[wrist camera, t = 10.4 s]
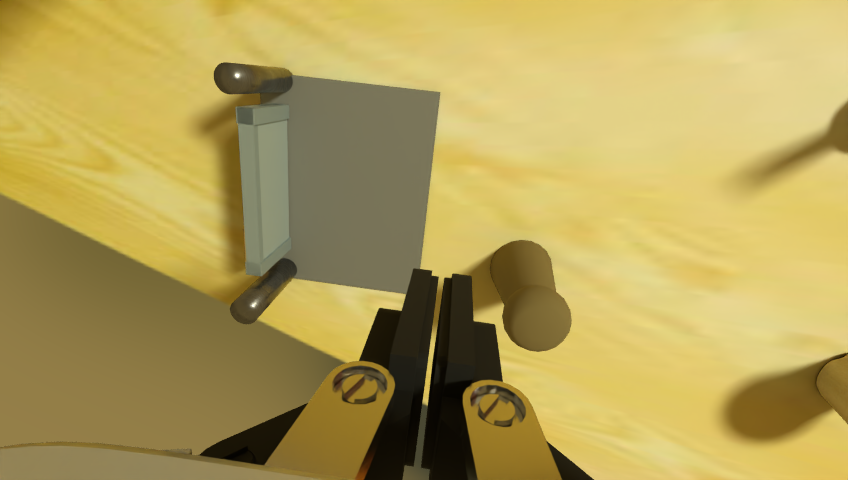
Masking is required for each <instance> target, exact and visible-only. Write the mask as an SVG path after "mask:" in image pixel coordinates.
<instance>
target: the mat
mask: <svg viewBox="0 0 848 480" xmlns="http://www.w3.org/2000/svg"><path fill="white" fill-rule="evenodd" d="M291 76H292V79H293V85H292V87H291V89H290V90H289V91H287V92H277V93H260V95H261V104H270V103H277V104H285V105H289V119H287V141H288V197H289V237H291V249H290V250H289V251H288V252H287V253H286V254H285V255H284V256H283V257H282V258H287V259H290V260H292V261H293V262H294V263H295V265H296V267H297V273H296V275H295V276H294V278H296V279H304V280H311V281H318V282H325V283H332V284H339V285H346V286H354V287H361V288H368V289H375V290H382V291H389V292H396V293H404V294H407V290H408V286H409V283H410V279H411V275H412V271H413V268H416V269H420V264H421V256H422V247H423V238H424V229H425V221H426V212H427V203H428V194H429V186H430V177H431V168H432V160H433V151H434V142H435V133H436V125H437V116H438V107H439V98H440V92H432V91H424V90H415V89H406V88H398V87H389V86H381V85H372V84H363V83H355V82H346V81H338V80H329V79H320V78H312V77H303V76H295V75H291Z"/></svg>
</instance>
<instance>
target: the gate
mask: <svg viewBox="0 0 848 480" xmlns="http://www.w3.org/2000/svg"><path fill="white" fill-rule="evenodd" d="M287 119H289V105H285V104H277V103H270V104H259V105H248V106H238V107H236V122H237V123H238V134H239V150H240V166H241V182H242V199H243V215H244V231H245V247H246V262H245V265H246V274H247V275H254V276H261V277H262V276H263V275H264V274H265V273H266V272H267V271H268V270H269V269H270V268H271V267H272V266H273V265H274V264H275V263H276V262H278V261H279V260H280V259H281V258H282V257H283V256H284V255H285V254H286V253H287V252H288V251H289V250H290V249H291V237H289V197H288V141H287Z"/></svg>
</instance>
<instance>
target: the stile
mask: <svg viewBox="0 0 848 480" xmlns="http://www.w3.org/2000/svg"><path fill="white" fill-rule="evenodd" d="M243 232H244V248H245V262H246V247H245V231H244V229H243ZM296 273H297V267H296V265H295V263H294V262H293V261H292V260H290V259H287V258H281V259H280V260H279V261H278V262H276V263H275V264H274V265H273V266H272V267H271V268H270V269H269V270H268V271H267V272H266V273H265V274H264V275H263V276H262V277H260V278H258V279H257V280H256V281H255V282H254V283H253V284H252V285H251V286H250V287H249V288H248V289H247V290H246V291H245V292H244V293H243V294H242V295H240V296H239V297H238V298H237V299H236V300H235V301H234V302H233V303H232V304H231V307H230V311H231V314H232V316H233V317H234V319H235V320H237V321H238V322H240V323H243V324H251V323H253V322H255V321H256V320H257V318H258V317H259V316H260V315H261V314H262V313H263V312H264V310H265V309H266V308H267V307H268V306H269V305H270V304H271V303H272V301H273V300H274V299H275V298H276V297H277V296H278V295H279V293H280V292H281V291H282V290H283V289H284V288H285V287H286V286H287V284H288V283H289V282H290V281H291V280H292V279H293V278H294V276H295V275H296Z"/></svg>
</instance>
